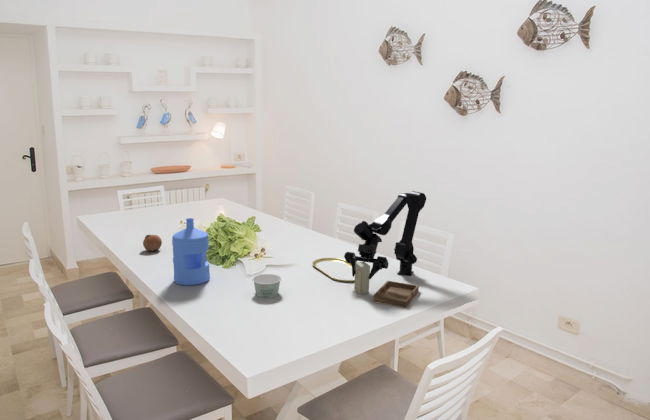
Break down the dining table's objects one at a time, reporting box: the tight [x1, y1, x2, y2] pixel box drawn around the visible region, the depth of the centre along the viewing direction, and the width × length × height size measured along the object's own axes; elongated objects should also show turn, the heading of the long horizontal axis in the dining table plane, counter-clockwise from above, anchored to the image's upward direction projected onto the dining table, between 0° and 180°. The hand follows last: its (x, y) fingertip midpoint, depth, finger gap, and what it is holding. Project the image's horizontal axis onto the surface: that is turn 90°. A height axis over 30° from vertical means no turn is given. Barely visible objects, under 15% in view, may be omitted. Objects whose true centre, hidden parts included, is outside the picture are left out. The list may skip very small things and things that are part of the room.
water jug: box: [171, 217, 211, 286], centre depth 223 cm, size 16×16×28 cm
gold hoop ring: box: [312, 257, 355, 283], centre depth 242 cm, size 19×35×2 cm, turn 27°
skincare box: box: [353, 261, 371, 295], centre depth 215 cm, size 6×4×12 cm
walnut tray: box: [372, 280, 420, 309], centre depth 211 cm, size 20×14×2 cm
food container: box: [252, 273, 282, 298], centre depth 211 cm, size 12×12×6 cm
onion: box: [142, 234, 163, 252], centre depth 268 cm, size 10×9×10 cm
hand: (361, 277), depth 213 cm, fingers closed on skincare box, 7 cm apart
